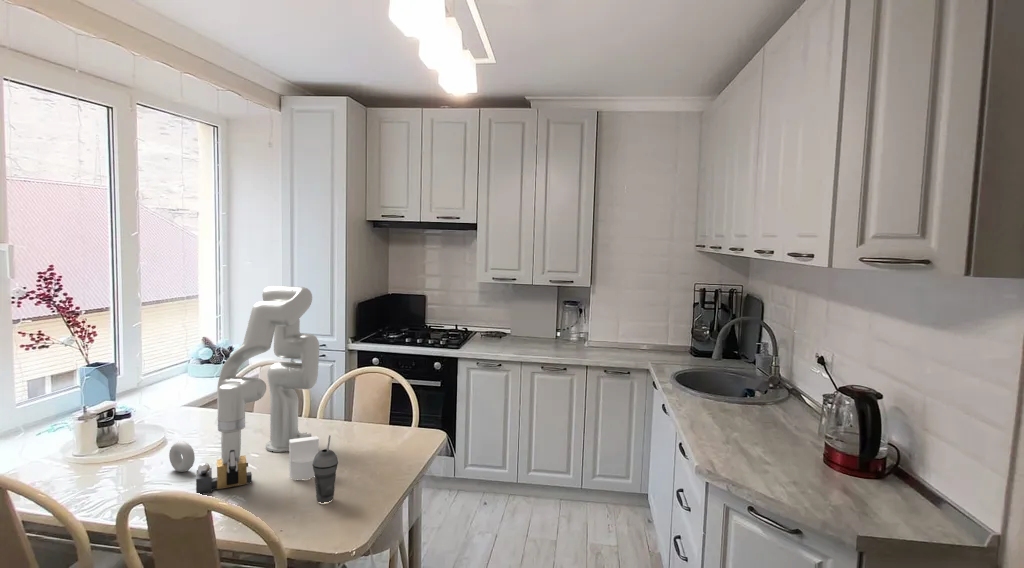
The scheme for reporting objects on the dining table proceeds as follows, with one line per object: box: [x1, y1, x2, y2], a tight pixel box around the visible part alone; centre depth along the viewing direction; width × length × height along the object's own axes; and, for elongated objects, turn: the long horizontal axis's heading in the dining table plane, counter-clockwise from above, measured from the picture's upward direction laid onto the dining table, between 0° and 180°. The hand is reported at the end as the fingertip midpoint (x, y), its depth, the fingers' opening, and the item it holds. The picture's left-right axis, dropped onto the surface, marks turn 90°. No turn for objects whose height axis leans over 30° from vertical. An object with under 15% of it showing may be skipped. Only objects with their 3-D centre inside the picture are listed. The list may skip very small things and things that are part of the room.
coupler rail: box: [195, 462, 253, 495], centre depth 165 cm, size 15×7×8 cm, turn 119°
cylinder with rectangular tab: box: [288, 435, 320, 481], centre depth 174 cm, size 9×9×12 cm
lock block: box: [216, 455, 249, 490], centre depth 166 cm, size 9×6×7 cm
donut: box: [168, 440, 196, 473], centre depth 174 cm, size 10×4×10 cm, turn 66°
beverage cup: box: [312, 434, 339, 503], centre depth 157 cm, size 7×7×20 cm
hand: (232, 478), depth 166 cm, fingers closed on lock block, 6 cm apart
